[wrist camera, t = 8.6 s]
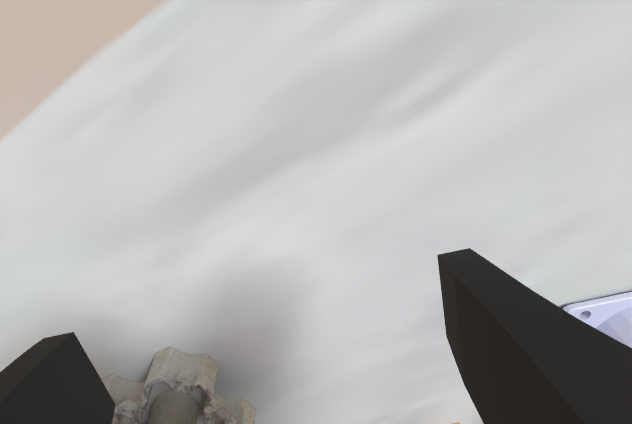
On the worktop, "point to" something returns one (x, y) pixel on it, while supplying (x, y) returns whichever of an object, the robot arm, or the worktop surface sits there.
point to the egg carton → (176, 393)
